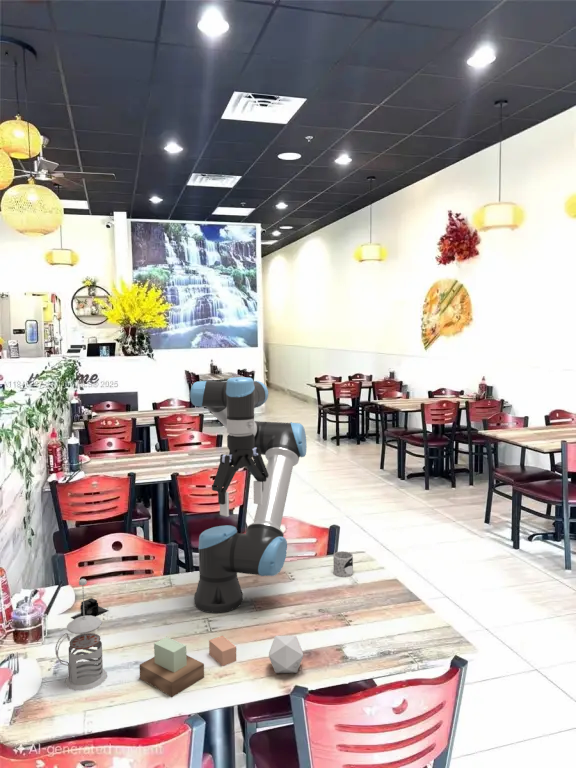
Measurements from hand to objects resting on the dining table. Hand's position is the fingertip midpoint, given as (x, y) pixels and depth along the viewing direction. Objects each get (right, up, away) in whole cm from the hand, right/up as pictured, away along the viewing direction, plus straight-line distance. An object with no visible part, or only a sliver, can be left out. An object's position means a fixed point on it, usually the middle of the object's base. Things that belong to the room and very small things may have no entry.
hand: (241, 509), depth 166 cm
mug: (+33, -31, +43) cm, 63 cm away
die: (+12, -37, -17) cm, 42 cm away
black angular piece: (-47, -35, +13) cm, 60 cm away
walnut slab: (-15, -37, -20) cm, 45 cm away
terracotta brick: (-4, -36, -11) cm, 38 cm away
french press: (-37, -37, -21) cm, 56 cm away
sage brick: (-16, -33, -21) cm, 42 cm away
